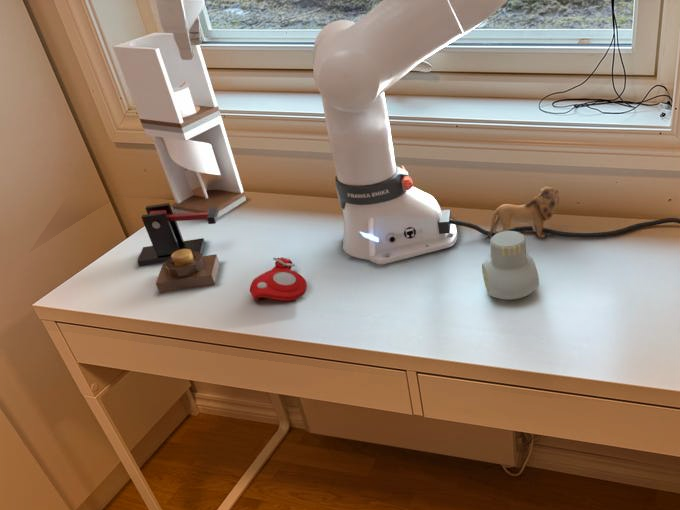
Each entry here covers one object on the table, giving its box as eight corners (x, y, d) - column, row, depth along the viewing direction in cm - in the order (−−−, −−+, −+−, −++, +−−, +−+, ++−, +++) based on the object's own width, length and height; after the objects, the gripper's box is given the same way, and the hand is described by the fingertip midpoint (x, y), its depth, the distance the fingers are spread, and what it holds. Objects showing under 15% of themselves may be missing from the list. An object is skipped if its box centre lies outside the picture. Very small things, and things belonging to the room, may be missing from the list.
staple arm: (219, 215, 139) (216, 203, 138) (216, 226, 135) (213, 214, 134) (155, 218, 137) (152, 207, 136) (150, 230, 133) (147, 218, 132)
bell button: (195, 255, 131) (192, 247, 130) (192, 265, 128) (189, 256, 127) (176, 258, 131) (172, 250, 130) (172, 268, 128) (169, 259, 127)
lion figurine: (554, 223, 138) (554, 180, 133) (563, 235, 134) (563, 191, 129) (482, 235, 136) (479, 192, 131) (489, 248, 132) (485, 204, 127)
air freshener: (542, 303, 116) (540, 250, 110) (493, 311, 115) (489, 258, 109) (526, 270, 125) (524, 220, 119) (481, 278, 124) (477, 227, 118)
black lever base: (205, 243, 143) (189, 198, 137) (201, 257, 138) (185, 211, 132) (145, 252, 142) (126, 207, 136) (139, 266, 137) (119, 221, 131)
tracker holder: (316, 288, 123) (260, 296, 118) (314, 307, 126) (259, 316, 121) (291, 248, 130) (237, 254, 124) (289, 267, 133) (236, 274, 127)
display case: (175, 213, 155) (112, 46, 134) (209, 193, 163) (154, 32, 141) (213, 220, 151) (155, 49, 129) (246, 200, 158) (196, 34, 137)
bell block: (220, 264, 135) (213, 245, 133) (215, 285, 129) (208, 266, 127) (167, 272, 134) (159, 253, 132) (159, 293, 128) (151, 274, 126)
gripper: (183, -38, 96) (204, 68, 104) (202, -57, 112) (219, 36, 120) (134, -38, 95) (159, 69, 103) (161, -57, 111) (180, 37, 119)
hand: (192, 51), depth 112 cm, fingers open, 8 cm apart
